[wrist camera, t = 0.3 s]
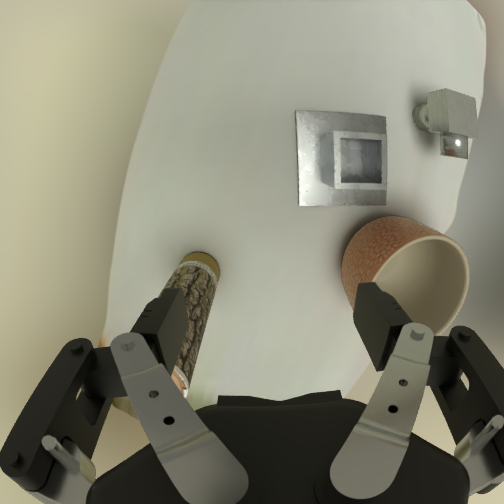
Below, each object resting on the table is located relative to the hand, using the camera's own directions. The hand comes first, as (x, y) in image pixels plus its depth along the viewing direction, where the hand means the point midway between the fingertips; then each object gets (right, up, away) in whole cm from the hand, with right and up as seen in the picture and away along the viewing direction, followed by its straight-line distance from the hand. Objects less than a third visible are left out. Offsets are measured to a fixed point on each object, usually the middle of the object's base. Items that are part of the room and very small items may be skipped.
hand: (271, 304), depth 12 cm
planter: (+21, +2, +32) cm, 38 cm away
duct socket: (+13, +16, +26) cm, 33 cm away
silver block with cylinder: (+27, +23, +23) cm, 43 cm away
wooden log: (-9, -1, +33) cm, 34 cm away
